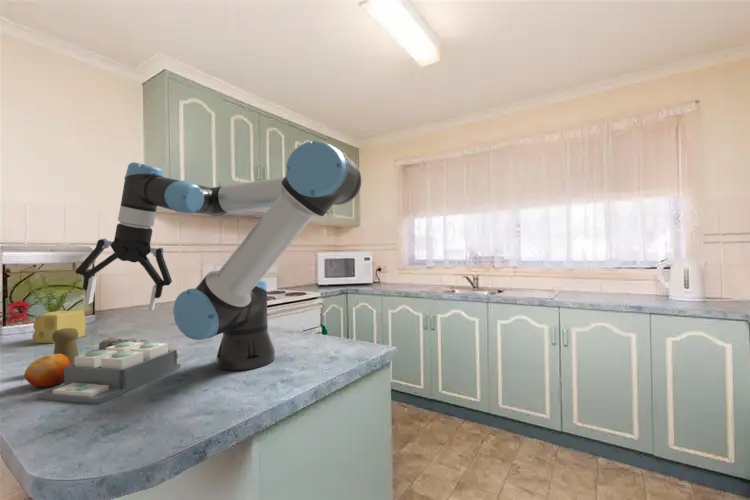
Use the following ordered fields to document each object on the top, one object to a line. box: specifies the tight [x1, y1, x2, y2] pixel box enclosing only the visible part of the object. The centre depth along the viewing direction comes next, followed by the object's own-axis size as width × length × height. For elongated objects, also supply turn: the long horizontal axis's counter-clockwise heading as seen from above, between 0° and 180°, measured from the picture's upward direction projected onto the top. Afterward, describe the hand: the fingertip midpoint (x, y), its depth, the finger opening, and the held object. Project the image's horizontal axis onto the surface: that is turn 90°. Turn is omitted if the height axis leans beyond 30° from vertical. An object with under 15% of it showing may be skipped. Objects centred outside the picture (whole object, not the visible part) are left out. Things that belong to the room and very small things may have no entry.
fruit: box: [23, 353, 71, 388], centre depth 83 cm, size 8×8×8 cm
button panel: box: [37, 349, 182, 405], centre depth 83 cm, size 16×22×5 cm
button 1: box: [74, 349, 117, 368], centre depth 82 cm, size 6×6×3 cm
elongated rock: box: [98, 337, 179, 360], centre depth 106 cm, size 35×5×10 cm
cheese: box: [32, 310, 87, 344], centre depth 127 cm, size 10×11×10 cm
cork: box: [52, 328, 80, 365], centre depth 93 cm, size 6×6×11 cm
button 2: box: [101, 351, 143, 369], centre depth 81 cm, size 6×6×3 cm
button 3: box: [106, 342, 144, 353], centre depth 90 cm, size 6×6×3 cm
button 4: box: [131, 342, 169, 359], centre depth 88 cm, size 6×6×3 cm
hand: (120, 306), depth 89 cm, fingers open, 13 cm apart
